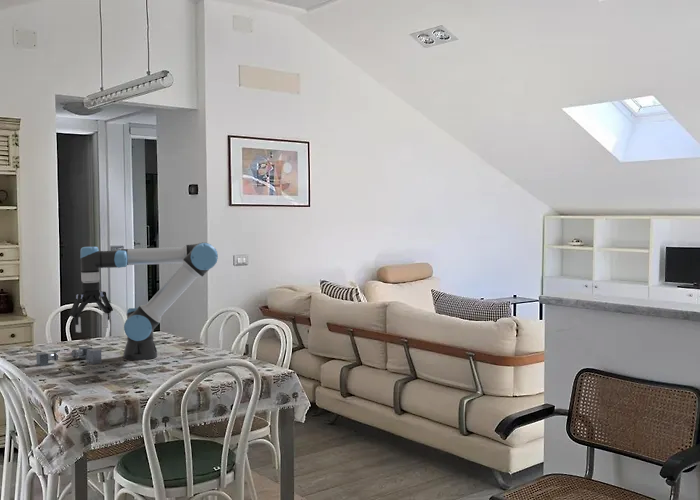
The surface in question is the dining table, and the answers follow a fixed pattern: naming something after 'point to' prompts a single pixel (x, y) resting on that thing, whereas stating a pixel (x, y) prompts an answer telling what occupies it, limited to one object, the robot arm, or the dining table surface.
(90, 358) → the block
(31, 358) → the dining table surface
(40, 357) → the shaft
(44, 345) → the dining table surface
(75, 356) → the shaft
